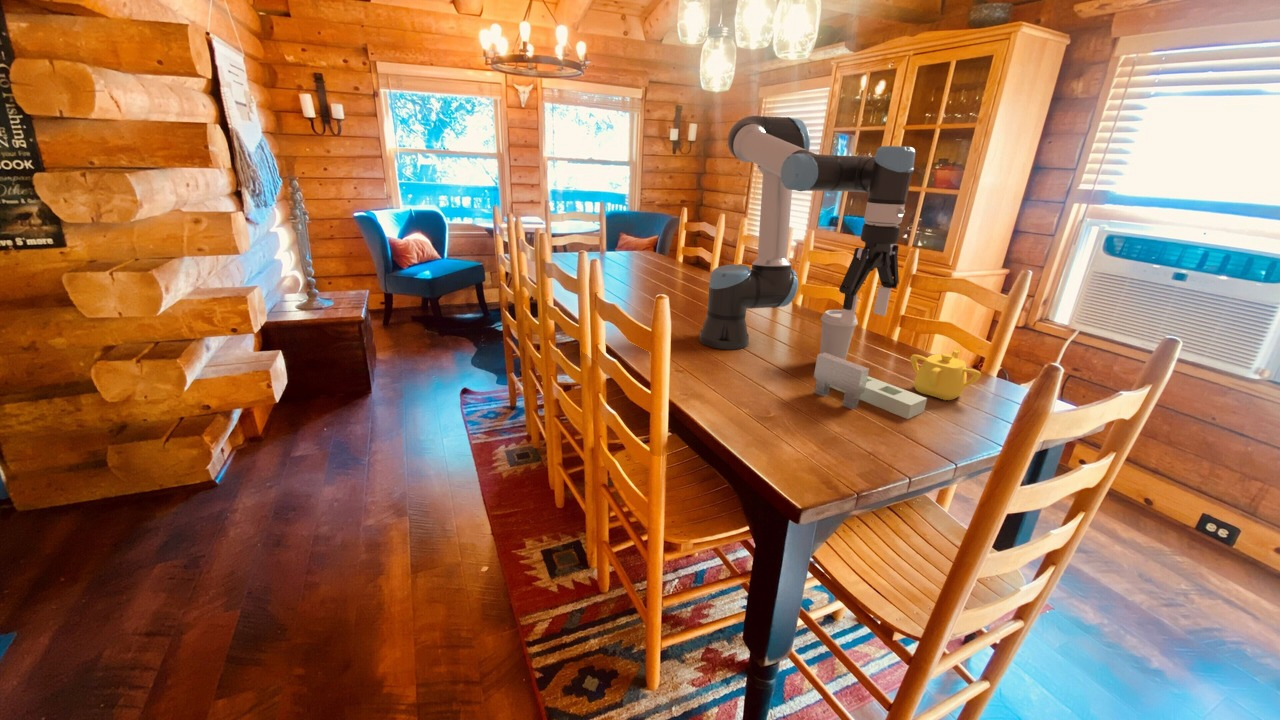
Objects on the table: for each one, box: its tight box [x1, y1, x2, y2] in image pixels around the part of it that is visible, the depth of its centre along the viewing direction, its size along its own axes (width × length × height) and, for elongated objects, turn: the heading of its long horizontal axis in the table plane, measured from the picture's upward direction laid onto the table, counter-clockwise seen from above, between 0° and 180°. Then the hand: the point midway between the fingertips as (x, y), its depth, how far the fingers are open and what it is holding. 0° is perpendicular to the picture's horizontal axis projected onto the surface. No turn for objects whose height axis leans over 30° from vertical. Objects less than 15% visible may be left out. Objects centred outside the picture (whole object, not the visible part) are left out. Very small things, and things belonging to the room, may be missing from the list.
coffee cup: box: [819, 309, 859, 360], centre depth 145 cm, size 10×10×15 cm
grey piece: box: [813, 353, 870, 410], centre depth 124 cm, size 12×3×10 cm, turn 35°
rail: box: [830, 375, 928, 420], centre depth 127 cm, size 22×7×4 cm, turn 35°
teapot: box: [910, 348, 982, 401], centre depth 131 cm, size 14×13×10 cm
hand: (863, 318), depth 120 cm, fingers open, 13 cm apart
